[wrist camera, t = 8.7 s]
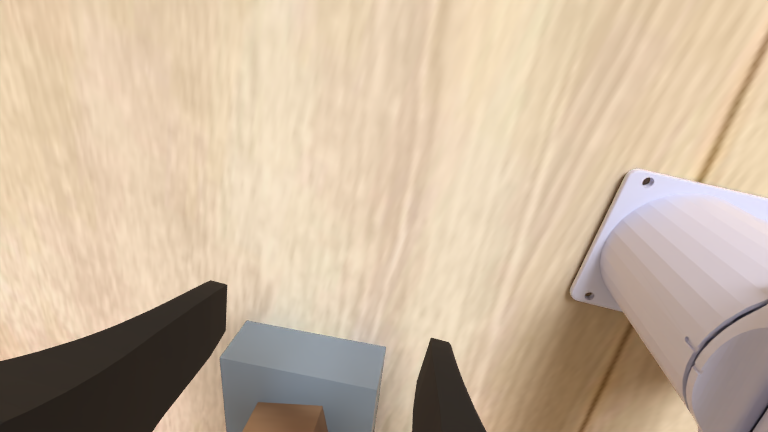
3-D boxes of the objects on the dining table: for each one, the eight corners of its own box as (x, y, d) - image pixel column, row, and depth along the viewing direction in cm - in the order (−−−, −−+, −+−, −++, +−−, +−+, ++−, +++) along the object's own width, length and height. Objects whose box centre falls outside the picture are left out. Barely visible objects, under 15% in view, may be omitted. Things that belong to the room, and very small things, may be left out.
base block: (386, 343, 27) (377, 389, 23) (373, 439, 31) (363, 491, 27) (249, 317, 28) (219, 357, 24) (254, 413, 32) (229, 460, 28)
